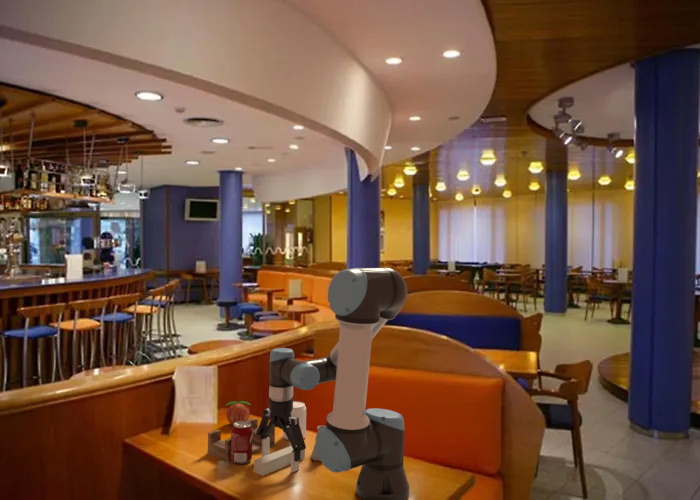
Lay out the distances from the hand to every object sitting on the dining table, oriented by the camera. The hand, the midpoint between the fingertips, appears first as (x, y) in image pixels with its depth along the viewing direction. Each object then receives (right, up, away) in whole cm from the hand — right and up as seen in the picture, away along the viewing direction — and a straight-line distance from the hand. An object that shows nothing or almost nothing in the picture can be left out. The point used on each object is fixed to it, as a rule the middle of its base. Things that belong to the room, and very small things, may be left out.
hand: (279, 464), depth 175 cm
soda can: (-13, 0, +2) cm, 13 cm away
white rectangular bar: (0, 0, 0) cm, 0 cm away
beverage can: (+2, 0, +24) cm, 24 cm away
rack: (-14, 0, +12) cm, 19 cm away
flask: (+13, 0, +7) cm, 14 cm away
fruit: (-21, +1, +36) cm, 41 cm away
